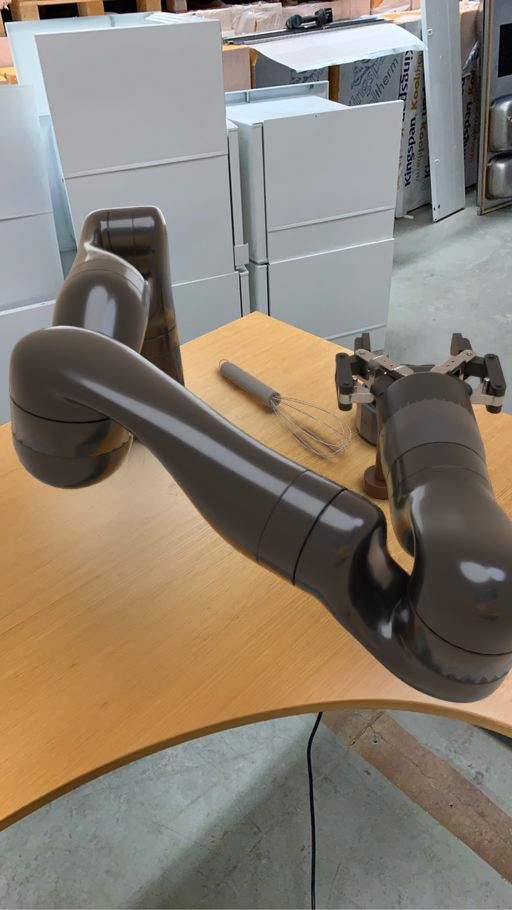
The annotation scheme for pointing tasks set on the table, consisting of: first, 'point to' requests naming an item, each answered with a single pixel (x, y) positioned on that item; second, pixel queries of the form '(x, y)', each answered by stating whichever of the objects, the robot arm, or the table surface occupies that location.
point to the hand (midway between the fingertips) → (409, 341)
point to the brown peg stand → (375, 479)
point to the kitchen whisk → (273, 399)
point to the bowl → (367, 421)
